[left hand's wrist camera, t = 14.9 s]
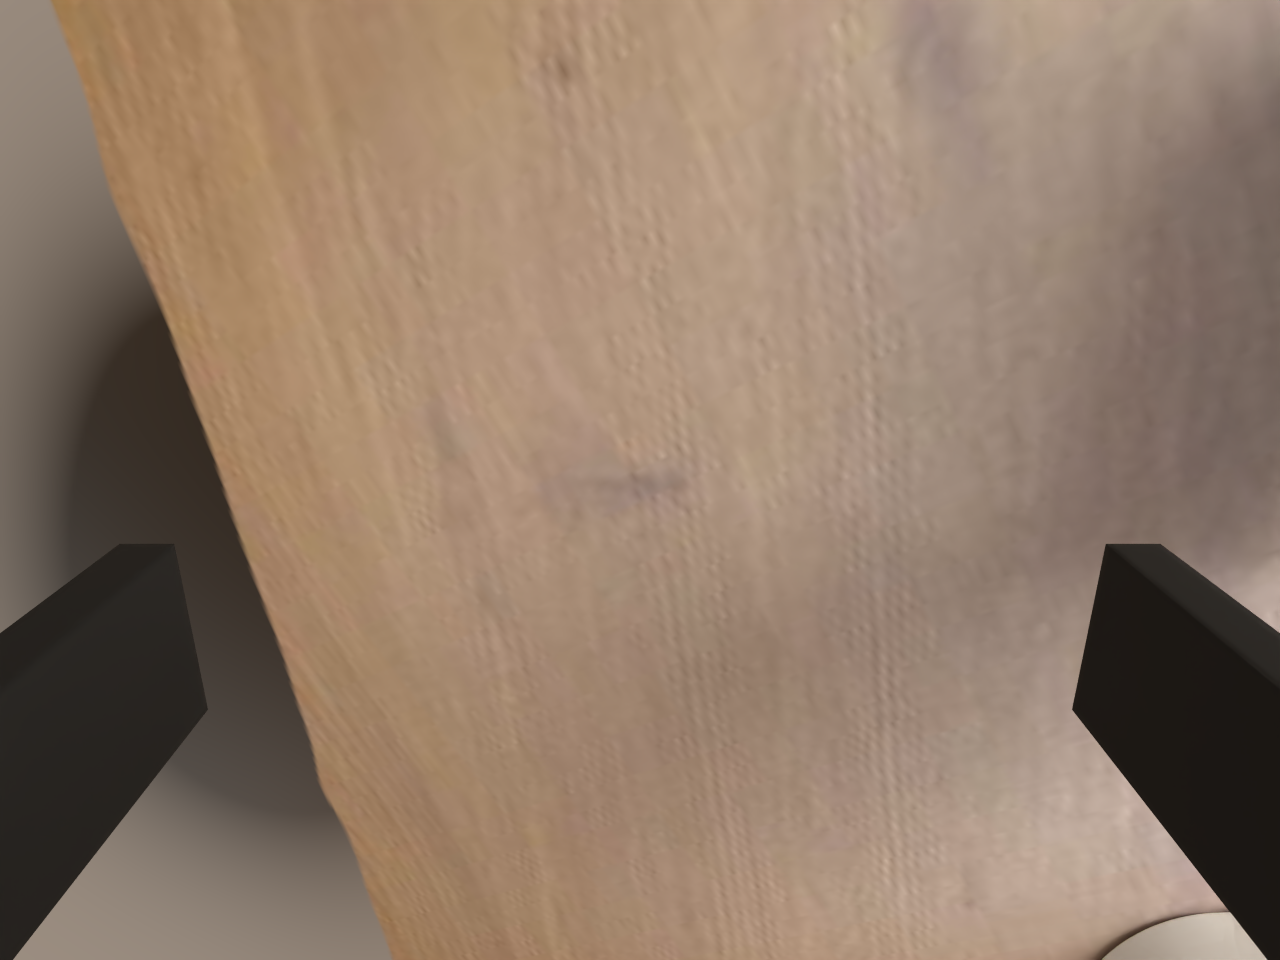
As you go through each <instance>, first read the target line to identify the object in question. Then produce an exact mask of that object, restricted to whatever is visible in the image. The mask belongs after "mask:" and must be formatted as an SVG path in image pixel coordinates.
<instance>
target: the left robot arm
mask: <svg viewBox="0 0 1280 960" xmlns="http://www.w3.org/2000/svg"><path fill="white" fill-rule="evenodd" d="M207 710H208V708H207V703H206V698H205V693H204V688H203V683H202V679H201V674H200V669H199V664H198V659H197V654H196V649H195V644H194V639H193V634H192V629H191V625H190V620H189V615H188V610H187V605H186V600H185V595H184V590H183V585H182V580H181V575H180V571H179V566H178V561H177V556H176V551H175V546H174V544H119V545H118V546H116V547H115V548H114V549H112V550H111V551H110V552H108V553H107V554H106V555H104V556H103V557H102V558H100V559H99V560H98V561H96V562H95V563H94V564H92V565H91V566H90V567H88V568H87V569H86V570H84V571H83V572H82V573H80V574H79V575H78V576H76V577H75V578H74V579H72V580H71V581H70V582H68V583H67V584H66V585H64V586H63V587H62V588H60V589H59V590H58V591H56V592H55V593H54V594H52V595H51V596H50V597H48V598H47V599H45V600H44V601H43V602H41V603H40V604H39V605H37V606H36V607H35V608H33V609H32V610H31V611H29V612H28V613H27V614H25V615H24V616H23V617H21V618H20V619H19V620H17V621H16V622H15V623H13V624H12V625H11V626H9V627H8V628H7V629H5V630H4V631H3V632H1V633H0V960H13V959H14V958H15V956H16V955H17V954H18V952H19V951H20V950H21V949H22V947H23V946H24V945H25V943H26V942H27V941H28V940H29V938H30V937H31V936H32V935H33V933H34V932H35V931H36V929H37V928H38V927H39V926H40V924H41V923H42V922H43V920H44V919H45V918H46V917H47V915H48V914H49V913H50V911H51V910H52V909H53V908H54V906H55V905H56V904H57V902H58V901H59V900H60V899H61V897H62V896H63V895H64V893H65V892H66V891H67V890H68V888H69V887H70V886H71V884H72V883H73V882H74V881H75V879H76V878H77V877H78V875H79V874H80V873H81V872H82V870H83V869H84V868H85V866H86V865H87V864H88V863H89V861H90V860H91V859H92V858H93V856H94V855H95V854H96V852H97V851H98V850H99V848H100V847H101V846H102V845H103V843H104V842H105V841H106V840H107V838H108V837H109V836H110V834H111V833H112V832H113V830H114V829H115V828H116V827H117V825H118V824H119V823H120V822H121V820H122V819H123V818H124V816H125V815H126V814H127V813H128V811H129V810H130V809H131V807H132V806H133V805H134V804H135V802H136V801H137V800H138V798H139V797H140V796H141V795H142V793H143V792H144V791H145V789H146V788H147V787H148V786H149V784H150V783H151V782H152V781H153V779H154V778H155V777H156V775H157V774H158V773H159V772H160V770H161V769H162V768H163V766H164V765H165V764H166V762H167V761H168V760H169V759H170V757H171V756H172V755H173V753H174V752H175V751H176V750H177V748H178V747H179V746H180V745H181V743H182V742H183V741H184V739H185V738H186V737H187V736H188V734H189V733H190V732H191V730H192V729H193V728H194V727H195V725H196V724H197V723H198V721H199V720H200V719H201V718H202V716H203V715H204V714H205V713H206V711H207ZM1072 710H1073V711H1074V713H1075V714H1076V715H1077V716H1078V718H1079V719H1080V720H1081V721H1082V723H1083V724H1084V725H1085V727H1086V728H1087V729H1088V730H1089V732H1090V733H1091V734H1092V736H1093V737H1094V738H1095V739H1096V741H1097V742H1098V743H1099V745H1100V746H1101V747H1102V748H1103V750H1104V751H1105V752H1106V754H1107V755H1108V756H1109V757H1110V759H1111V760H1112V761H1113V763H1114V764H1115V765H1116V766H1117V768H1118V769H1119V770H1120V772H1121V773H1122V774H1123V775H1124V777H1125V778H1126V779H1127V781H1128V782H1129V783H1130V784H1131V786H1132V787H1133V788H1134V790H1135V791H1136V792H1137V793H1138V795H1139V796H1140V797H1141V798H1142V800H1143V801H1144V802H1145V804H1146V805H1147V806H1148V807H1149V809H1150V810H1151V811H1152V813H1153V814H1154V815H1155V816H1156V818H1157V819H1158V820H1159V822H1160V823H1161V824H1162V825H1163V827H1164V828H1165V829H1166V831H1167V832H1168V833H1169V834H1170V836H1171V837H1172V838H1173V840H1174V841H1175V842H1176V843H1177V845H1178V846H1179V847H1180V849H1181V850H1182V851H1183V852H1184V854H1185V855H1186V856H1187V858H1188V859H1189V860H1190V861H1191V863H1192V864H1193V865H1194V866H1195V868H1196V869H1197V870H1198V872H1199V873H1200V874H1201V875H1202V877H1203V878H1204V879H1205V881H1206V882H1207V883H1208V884H1209V886H1210V887H1211V888H1212V890H1213V891H1214V892H1215V893H1216V895H1217V896H1218V897H1219V899H1220V900H1221V901H1222V902H1223V904H1224V905H1225V906H1226V908H1227V909H1228V910H1229V911H1230V913H1231V914H1232V915H1233V917H1234V918H1235V919H1236V920H1237V922H1238V923H1239V924H1240V926H1241V927H1242V928H1243V929H1244V931H1245V932H1246V933H1247V935H1248V936H1249V937H1250V938H1251V940H1252V941H1253V942H1254V943H1255V945H1256V946H1257V947H1258V949H1259V950H1260V951H1261V952H1262V954H1263V955H1264V956H1265V958H1266V959H1267V960H1280V633H1279V632H1277V631H1276V630H1275V629H1273V628H1272V627H1271V626H1269V625H1268V624H1267V623H1265V622H1264V621H1263V620H1261V619H1260V618H1259V617H1257V616H1256V615H1255V614H1253V613H1252V612H1251V611H1249V610H1248V609H1247V608H1245V607H1244V606H1243V605H1241V604H1240V603H1239V602H1237V601H1236V600H1235V599H1233V598H1232V597H1231V596H1229V595H1228V594H1227V593H1225V592H1224V591H1222V590H1221V589H1220V588H1218V587H1217V586H1216V585H1214V584H1213V583H1212V582H1210V581H1209V580H1208V579H1206V578H1205V577H1204V576H1202V575H1201V574H1200V573H1198V572H1197V571H1196V570H1194V569H1193V568H1192V567H1190V566H1189V565H1188V564H1186V563H1185V562H1184V561H1182V560H1181V559H1180V558H1178V557H1177V556H1176V555H1174V554H1173V553H1172V552H1170V551H1169V550H1168V549H1166V548H1165V547H1164V546H1162V545H1161V544H1106V546H1105V551H1104V556H1103V561H1102V566H1101V571H1100V575H1099V580H1098V585H1097V590H1096V595H1095V600H1094V605H1093V610H1092V615H1091V620H1090V625H1089V629H1088V634H1087V639H1086V644H1085V649H1084V654H1083V659H1082V664H1081V669H1080V674H1079V679H1078V683H1077V688H1076V693H1075V698H1074V703H1073V708H1072Z"/></svg>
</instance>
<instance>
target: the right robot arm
mask: <svg viewBox="0 0 1280 960" xmlns="http://www.w3.org/2000/svg"><path fill="white" fill-rule="evenodd" d="M1102 960H1267V959H1266V958H1265V956H1264V955H1263V954H1262V952H1261V951H1260V950H1259V949H1258V947H1257V946H1256V945H1255V943H1254V942H1253V941H1252V940H1251V938H1250V937H1249V936H1248V935H1247V933H1246V932H1245V931H1244V929H1243V928H1242V927H1241V926H1240V924H1239V923H1238V922H1237V920H1236V919H1235V918H1234V917H1233V915H1232V914H1231V913H1230V912H1217V913H1203V914H1195V915H1189V916H1184V917H1180V918H1176V919H1172V920H1169V921H1166V922H1162V923H1160V924H1157V925H1154V926H1152V927H1150V928H1147V929H1145V930H1143V931H1141V932H1139V933H1137V934H1135V935H1134V936H1132V937H1130V938H1129V939H1127V940H1125V941H1124V942H1122V943H1121V944H1120V945H1118V946H1117V947H1115V948H1114V949H1113V950H1112V951H1110V952H1109V953H1108V954H1107V955H1106V956H1105V957H1104V958H1103V959H1102Z"/></svg>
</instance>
